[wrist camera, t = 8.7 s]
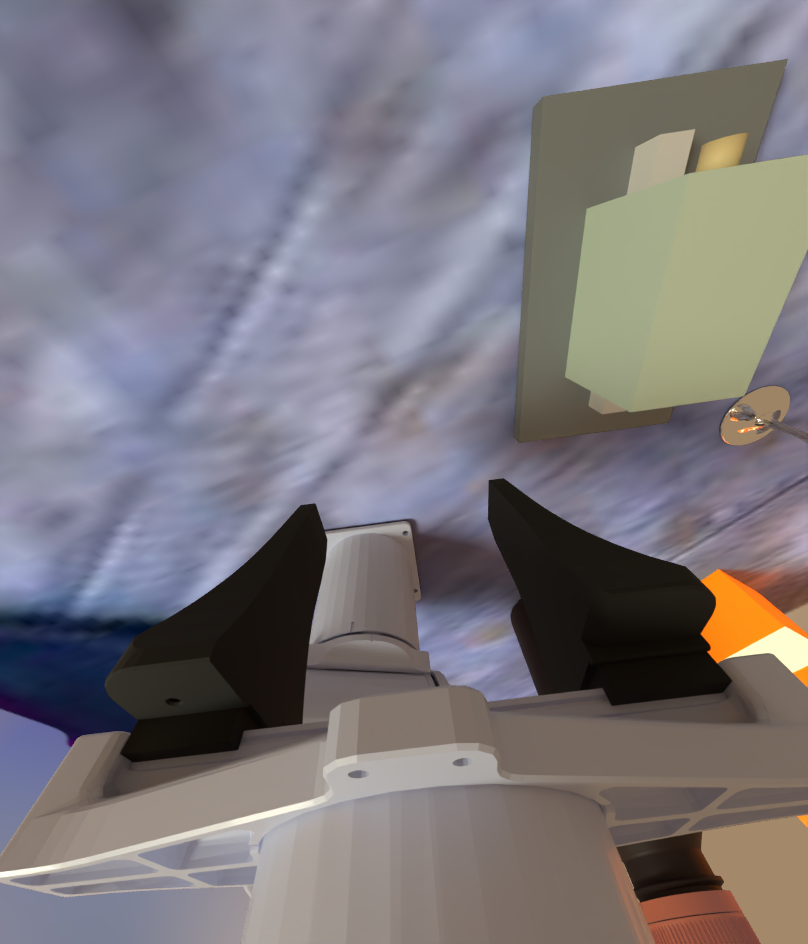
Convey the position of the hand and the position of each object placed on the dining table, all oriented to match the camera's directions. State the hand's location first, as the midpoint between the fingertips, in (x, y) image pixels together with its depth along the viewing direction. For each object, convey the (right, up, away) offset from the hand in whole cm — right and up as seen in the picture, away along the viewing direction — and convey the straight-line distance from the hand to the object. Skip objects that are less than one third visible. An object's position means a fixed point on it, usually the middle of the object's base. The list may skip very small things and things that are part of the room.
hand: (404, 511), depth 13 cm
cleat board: (+12, +12, +5) cm, 17 cm away
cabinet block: (+12, +11, +4) cm, 17 cm away
